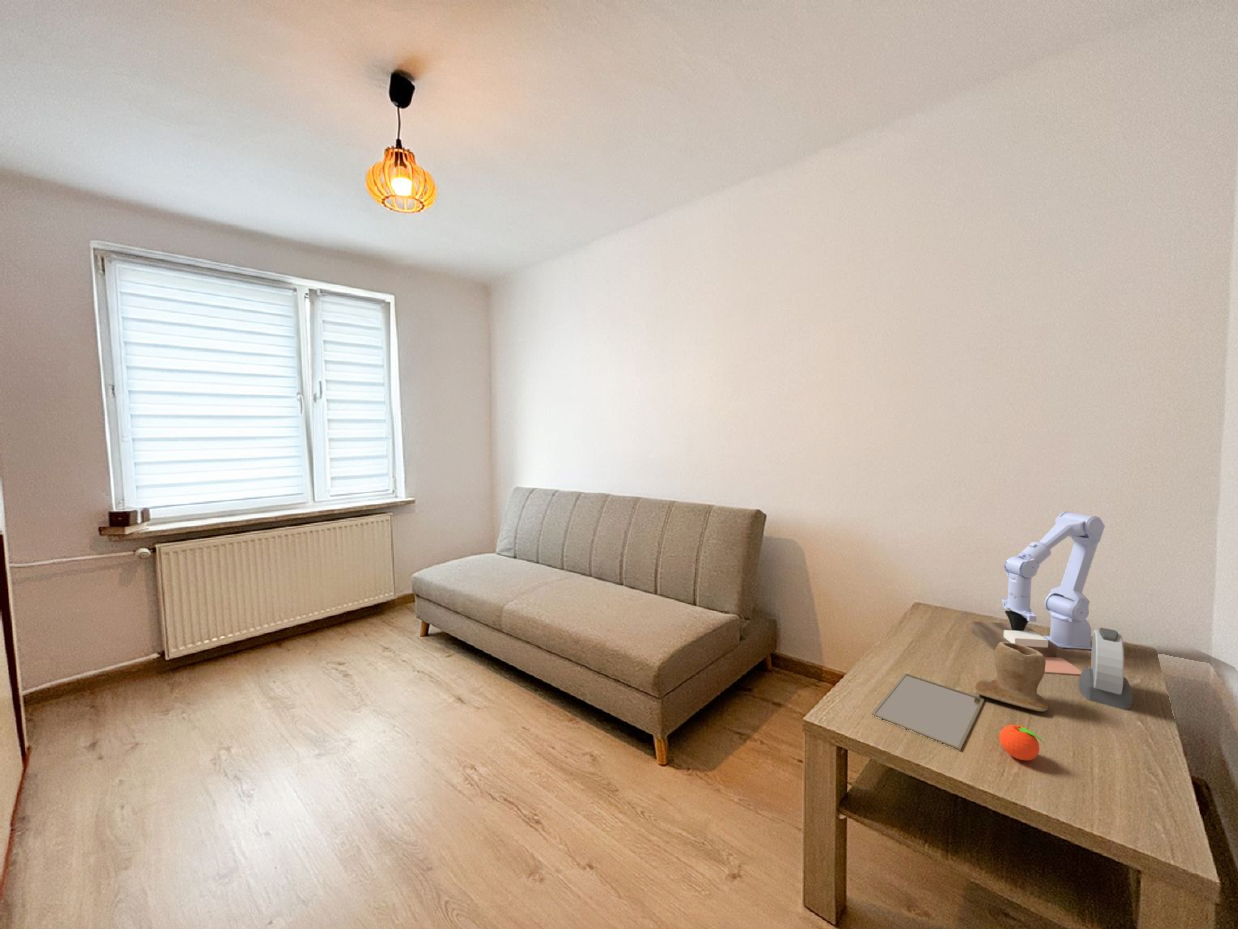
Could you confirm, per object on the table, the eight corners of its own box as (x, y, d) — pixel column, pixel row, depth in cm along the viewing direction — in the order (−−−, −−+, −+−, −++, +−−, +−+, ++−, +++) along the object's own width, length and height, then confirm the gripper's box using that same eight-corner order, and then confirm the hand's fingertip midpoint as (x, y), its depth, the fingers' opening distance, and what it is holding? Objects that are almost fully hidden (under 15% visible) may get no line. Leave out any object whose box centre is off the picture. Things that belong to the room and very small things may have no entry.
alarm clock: (1136, 716, 119) (1140, 647, 118) (1080, 701, 126) (1083, 635, 124) (1128, 688, 131) (1132, 625, 129) (1077, 676, 138) (1080, 616, 136)
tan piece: (1046, 698, 127) (1049, 645, 126) (1048, 720, 118) (1050, 663, 117) (976, 680, 137) (978, 630, 136) (973, 698, 128) (975, 646, 127)
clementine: (1046, 758, 105) (1047, 728, 105) (1044, 775, 101) (1045, 743, 100) (1000, 742, 111) (1001, 713, 110) (996, 757, 106) (998, 727, 106)
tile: (1035, 638, 153) (1035, 631, 153) (1047, 647, 147) (1048, 640, 147) (1003, 636, 155) (1003, 629, 155) (1014, 645, 149) (1015, 638, 149)
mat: (1061, 659, 147) (1062, 657, 147) (1086, 675, 138) (1086, 674, 138) (996, 655, 151) (996, 653, 151) (1015, 671, 141) (1015, 669, 141)
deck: (1023, 635, 164) (1024, 624, 164) (1055, 657, 149) (1056, 645, 148) (972, 632, 168) (972, 621, 167) (998, 653, 152) (998, 641, 152)
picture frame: (960, 753, 108) (984, 702, 127) (960, 749, 108) (984, 698, 127) (871, 717, 122) (904, 676, 141) (871, 713, 122) (904, 673, 141)
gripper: (992, 585, 162) (991, 624, 163) (1018, 601, 148) (1016, 643, 149) (1016, 586, 160) (1014, 625, 161) (1044, 602, 146) (1042, 644, 147)
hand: (1017, 634), depth 155 cm, fingers closed
